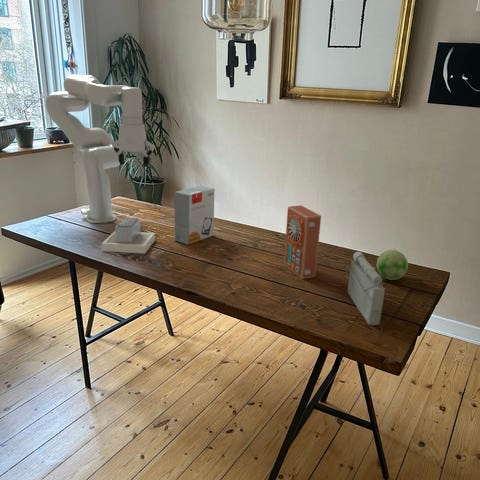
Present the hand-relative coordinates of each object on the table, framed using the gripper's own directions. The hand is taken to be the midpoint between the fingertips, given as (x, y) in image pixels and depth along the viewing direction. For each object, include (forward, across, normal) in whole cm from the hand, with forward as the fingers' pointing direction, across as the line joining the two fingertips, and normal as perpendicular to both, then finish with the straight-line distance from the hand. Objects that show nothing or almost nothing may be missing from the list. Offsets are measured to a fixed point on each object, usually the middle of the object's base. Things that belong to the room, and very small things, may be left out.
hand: (133, 165), depth 180 cm
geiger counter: (+25, +85, -50) cm, 102 cm away
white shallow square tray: (+27, +4, -18) cm, 32 cm away
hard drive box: (+27, +26, -5) cm, 38 cm away
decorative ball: (+25, +98, -31) cm, 106 cm away
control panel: (+25, +68, -30) cm, 78 cm away
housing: (+24, +3, -18) cm, 30 cm away
